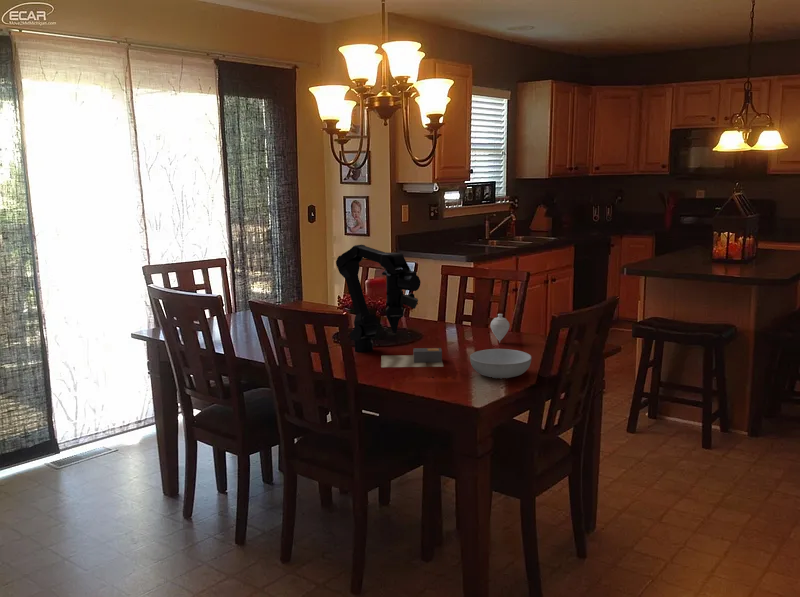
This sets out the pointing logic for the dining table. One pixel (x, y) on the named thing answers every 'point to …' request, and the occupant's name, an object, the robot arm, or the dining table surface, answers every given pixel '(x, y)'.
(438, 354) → the block
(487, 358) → the serving bowl
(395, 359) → the board
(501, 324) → the spinning top
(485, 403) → the dining table surface
